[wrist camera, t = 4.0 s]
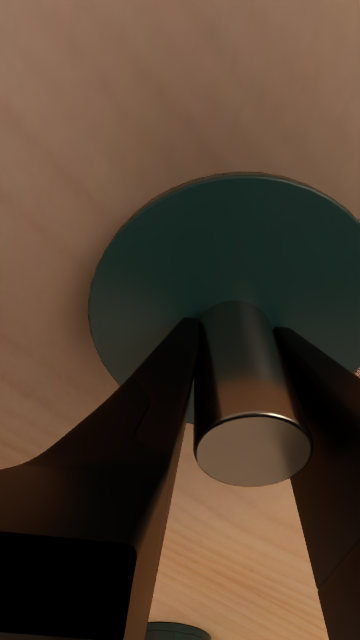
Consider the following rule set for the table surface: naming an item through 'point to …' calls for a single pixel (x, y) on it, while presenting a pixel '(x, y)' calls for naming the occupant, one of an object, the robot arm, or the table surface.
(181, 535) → the table surface
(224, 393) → the tin lid
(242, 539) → the table surface
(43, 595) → the robot arm
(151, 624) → the tin
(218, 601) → the table surface
